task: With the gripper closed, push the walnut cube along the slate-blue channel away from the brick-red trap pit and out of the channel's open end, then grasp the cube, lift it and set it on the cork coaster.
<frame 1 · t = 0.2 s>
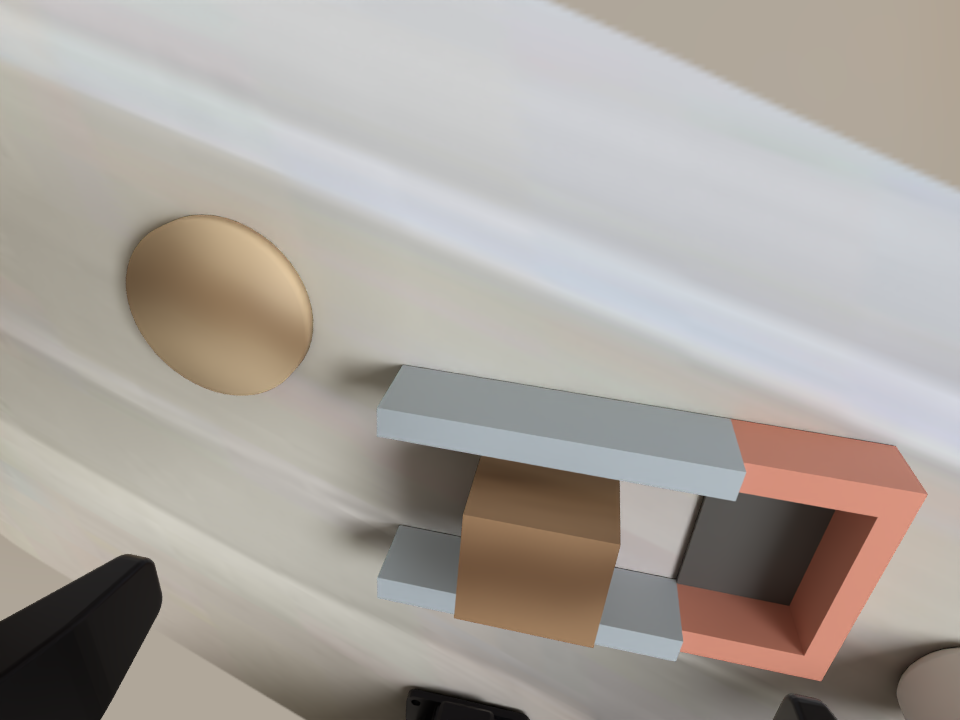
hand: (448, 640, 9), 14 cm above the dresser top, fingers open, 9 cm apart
cork coaster: (225, 305, 24), on the dresser top
walnut block: (545, 487, 25), on the dresser top
channel: (544, 489, 25), on the dresser top
trap pit: (756, 528, 24), on the dresser top
beverage can: (954, 675, 26), on the dresser top
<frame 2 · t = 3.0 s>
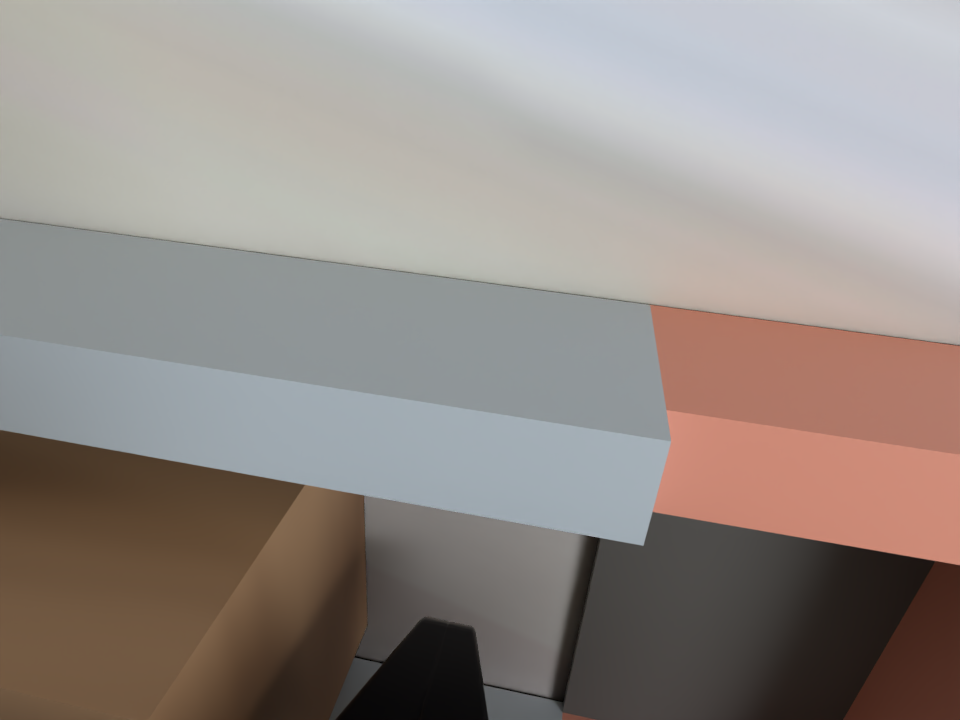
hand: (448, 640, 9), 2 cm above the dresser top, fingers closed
walnut block: (227, 499, 11), on the dresser top, touching gripper
channel: (246, 505, 11), on the dresser top
trap pit: (735, 597, 10), on the dresser top
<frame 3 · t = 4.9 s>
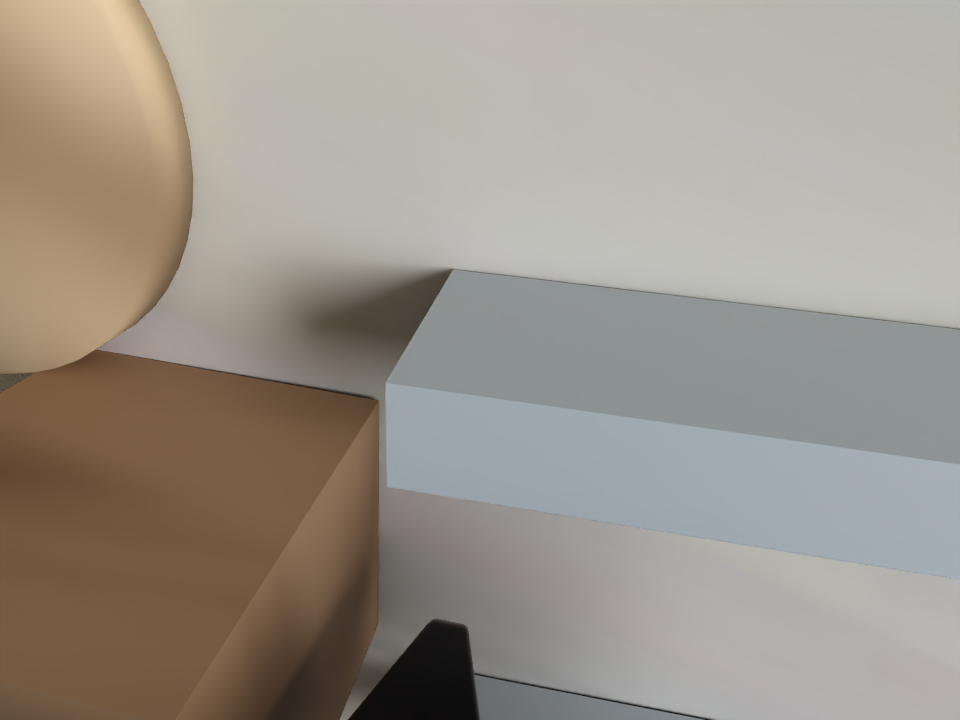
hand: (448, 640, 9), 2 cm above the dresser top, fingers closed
walnut block: (240, 496, 11), on the dresser top, touching cork coaster, gripper
channel: (816, 597, 10), on the dresser top
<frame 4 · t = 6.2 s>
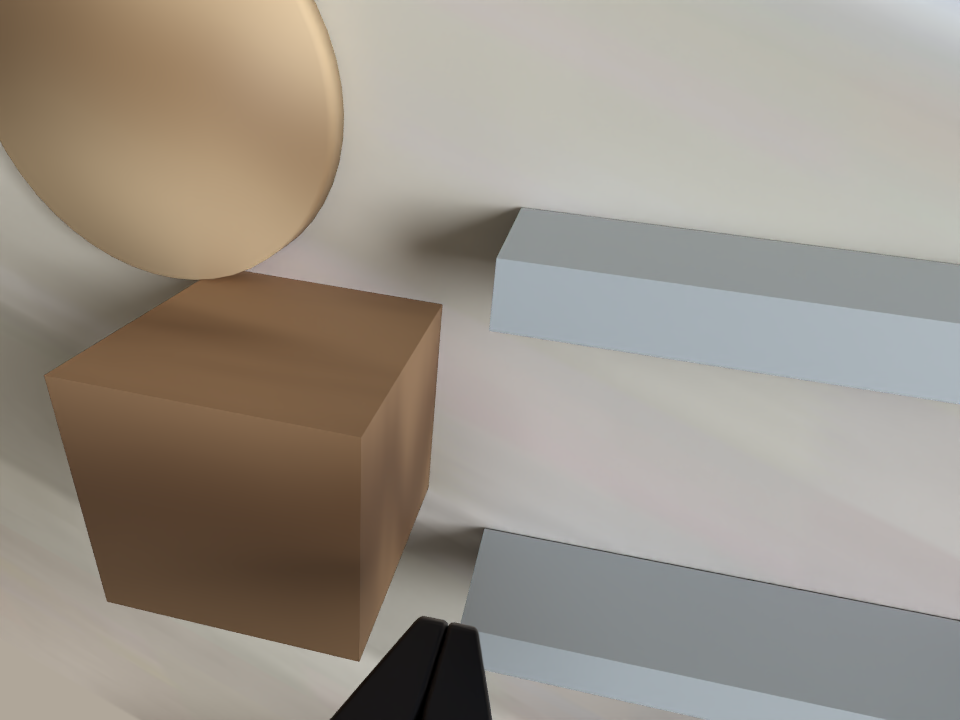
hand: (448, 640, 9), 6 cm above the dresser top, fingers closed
cork coaster: (170, 93, 12), on the dresser top
walnut block: (332, 382, 15), on the dresser top
channel: (773, 460, 13), on the dresser top
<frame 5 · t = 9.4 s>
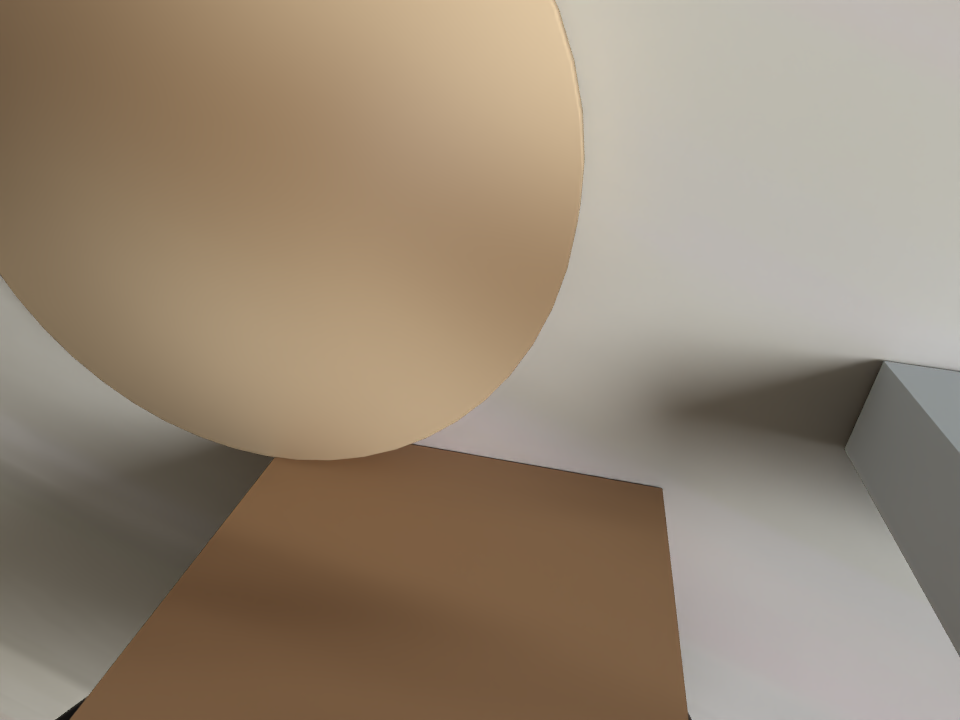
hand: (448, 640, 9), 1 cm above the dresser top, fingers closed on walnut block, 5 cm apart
cork coaster: (270, 165, 7), on the dresser top
walnut block: (462, 584, 10), on the dresser top, touching gripper
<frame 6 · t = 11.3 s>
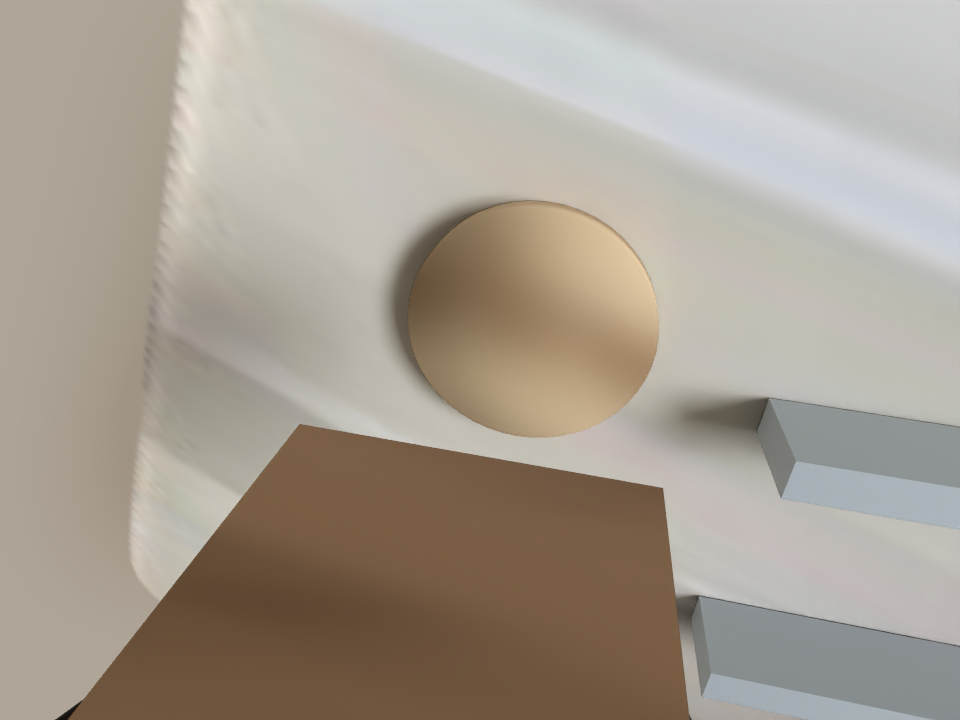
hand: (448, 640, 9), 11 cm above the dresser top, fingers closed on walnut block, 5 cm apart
cork coaster: (531, 321, 18), on the dresser top
walnut block: (462, 584, 10), point 10 cm above the dresser top, touching gripper
channel: (924, 556, 19), on the dresser top
when the fingers open (3 cm above the dresser top, at t = 13.0 s): walnut block drops 1 cm, resting on cork coaster.
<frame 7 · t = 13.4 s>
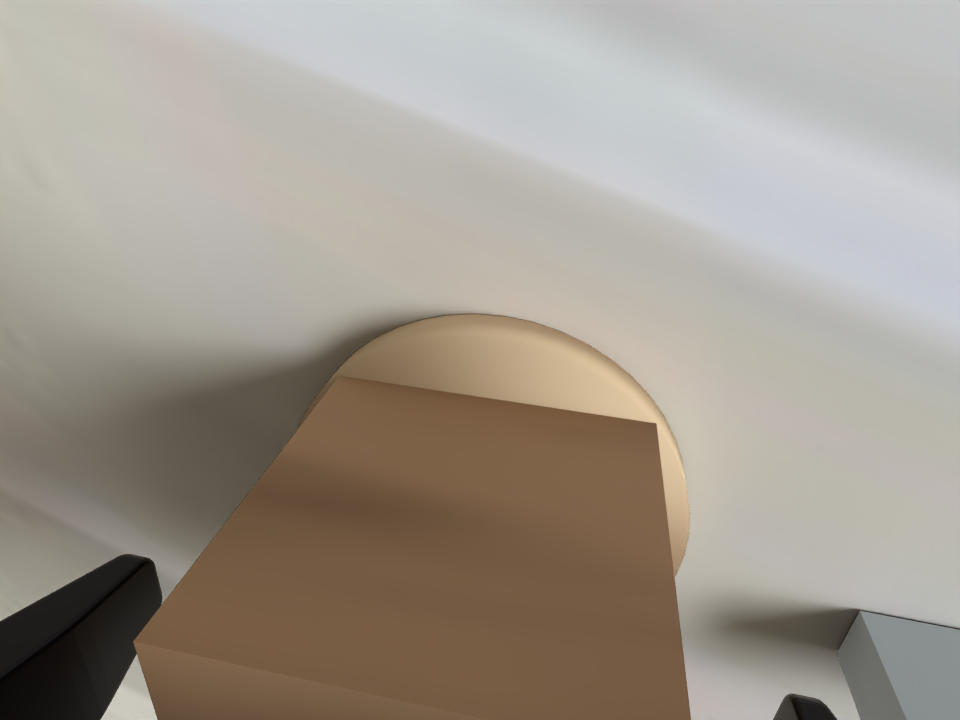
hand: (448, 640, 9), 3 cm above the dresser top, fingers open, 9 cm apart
cork coaster: (487, 487, 12), on the dresser top
walnut block: (482, 519, 11), point 1 cm above the dresser top, touching cork coaster
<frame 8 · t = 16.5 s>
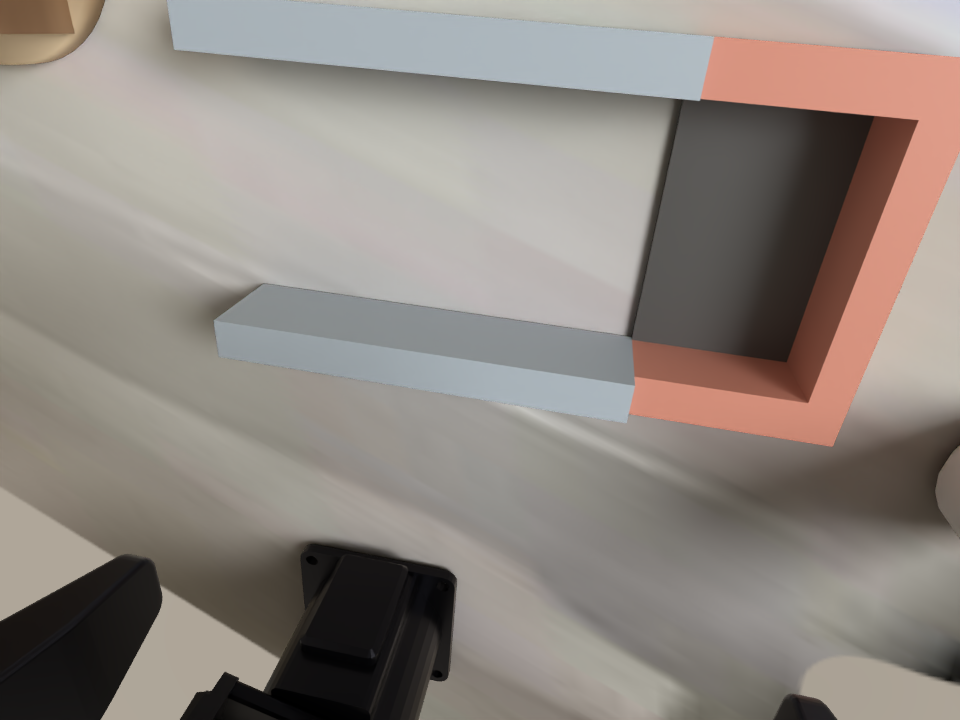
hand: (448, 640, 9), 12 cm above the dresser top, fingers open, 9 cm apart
channel: (446, 199, 18), on the dresser top
trap pit: (739, 235, 17), on the dresser top
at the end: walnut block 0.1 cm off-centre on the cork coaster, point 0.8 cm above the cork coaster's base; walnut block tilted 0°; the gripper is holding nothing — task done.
